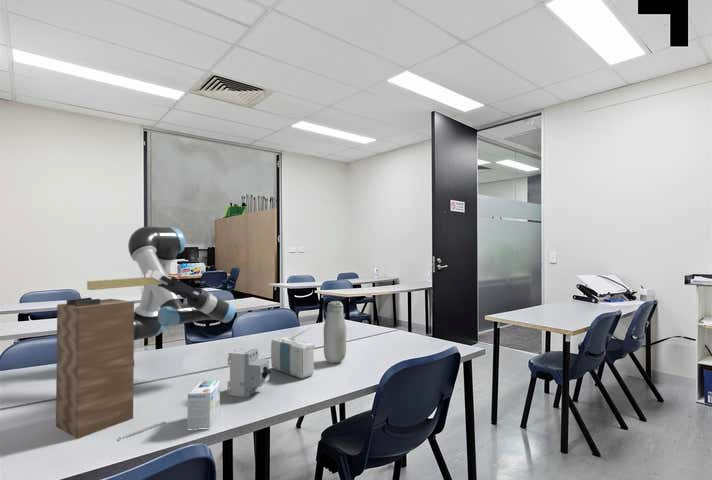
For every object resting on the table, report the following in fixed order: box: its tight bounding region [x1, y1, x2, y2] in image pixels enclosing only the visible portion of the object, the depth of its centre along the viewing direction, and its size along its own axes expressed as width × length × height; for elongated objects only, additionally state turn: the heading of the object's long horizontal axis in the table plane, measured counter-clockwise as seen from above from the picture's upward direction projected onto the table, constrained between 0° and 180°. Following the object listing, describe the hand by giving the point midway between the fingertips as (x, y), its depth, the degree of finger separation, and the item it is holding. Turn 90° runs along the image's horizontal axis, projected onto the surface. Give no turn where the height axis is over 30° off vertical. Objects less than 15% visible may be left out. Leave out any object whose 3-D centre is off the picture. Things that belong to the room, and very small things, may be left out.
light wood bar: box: [86, 275, 174, 291], centre depth 127 cm, size 3×26×2 cm, turn 147°
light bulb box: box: [187, 380, 221, 429], centre depth 116 cm, size 11×7×11 cm, turn 5°
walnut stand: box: [55, 297, 135, 439], centre depth 117 cm, size 14×15×38 cm
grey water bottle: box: [323, 300, 347, 364], centre depth 176 cm, size 10×10×28 cm
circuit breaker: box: [227, 347, 272, 398], centre depth 140 cm, size 8×14×15 cm, turn 78°
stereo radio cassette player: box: [270, 326, 316, 380], centre depth 162 cm, size 21×8×20 cm, turn 47°
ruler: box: [118, 420, 166, 441], centre depth 111 cm, size 12×1×1 cm, turn 143°
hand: (149, 273), depth 131 cm, fingers closed on light wood bar, 3 cm apart
